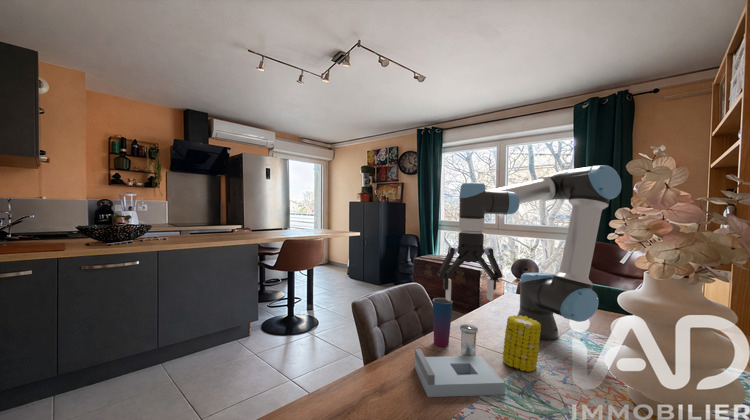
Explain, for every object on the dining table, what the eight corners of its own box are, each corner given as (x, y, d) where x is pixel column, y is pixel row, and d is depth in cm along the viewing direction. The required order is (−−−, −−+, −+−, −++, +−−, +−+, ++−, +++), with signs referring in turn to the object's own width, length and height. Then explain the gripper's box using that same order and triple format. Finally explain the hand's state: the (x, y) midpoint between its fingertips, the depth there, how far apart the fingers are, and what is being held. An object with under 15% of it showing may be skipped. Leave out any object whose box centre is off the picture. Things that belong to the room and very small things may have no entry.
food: (496, 364, 94) (525, 364, 96) (520, 375, 83) (553, 375, 84) (494, 313, 98) (522, 314, 99) (516, 317, 86) (547, 318, 88)
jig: (479, 365, 90) (480, 347, 90) (504, 394, 76) (505, 373, 76) (414, 367, 88) (415, 348, 88) (427, 397, 74) (428, 375, 74)
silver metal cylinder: (472, 355, 96) (473, 324, 96) (479, 363, 91) (480, 330, 91) (456, 355, 96) (457, 324, 96) (463, 363, 91) (464, 330, 91)
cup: (451, 349, 100) (453, 304, 100) (431, 346, 101) (432, 302, 101) (450, 340, 107) (452, 298, 107) (431, 338, 108) (432, 297, 108)
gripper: (502, 232, 99) (500, 296, 99) (429, 230, 96) (427, 296, 96) (515, 234, 91) (513, 303, 91) (436, 232, 89) (433, 303, 89)
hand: (469, 300), depth 94 cm, fingers open, 13 cm apart
